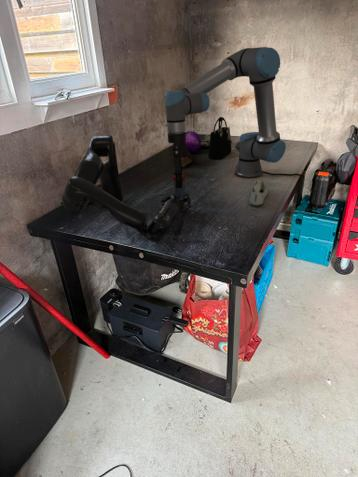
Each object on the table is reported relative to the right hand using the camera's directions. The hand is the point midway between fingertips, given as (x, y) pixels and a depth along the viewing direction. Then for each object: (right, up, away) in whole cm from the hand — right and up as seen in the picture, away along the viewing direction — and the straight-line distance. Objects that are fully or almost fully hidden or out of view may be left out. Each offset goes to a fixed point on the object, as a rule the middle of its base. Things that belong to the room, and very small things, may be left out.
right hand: (179, 185), depth 147 cm
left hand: (+1, -4, +5) cm, 6 cm away
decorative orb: (+8, +37, +87) cm, 95 cm away
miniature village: (+56, +43, +93) cm, 117 cm away
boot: (+4, +25, +67) cm, 72 cm away
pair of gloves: (+22, +49, +106) cm, 119 cm away
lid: (0, +4, -2) cm, 4 cm away
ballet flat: (+39, -4, +13) cm, 41 cm away
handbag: (+28, +33, +78) cm, 89 cm away
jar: (+1, -10, +6) cm, 12 cm away
